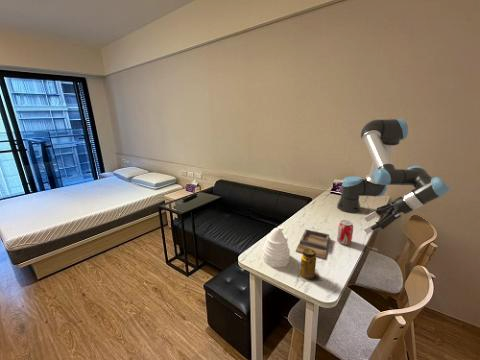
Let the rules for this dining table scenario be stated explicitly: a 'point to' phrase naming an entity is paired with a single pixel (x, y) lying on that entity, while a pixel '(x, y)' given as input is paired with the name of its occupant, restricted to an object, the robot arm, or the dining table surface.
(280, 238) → the honey pot
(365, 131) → the robot arm
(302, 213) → the dining table surface
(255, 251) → the dining table surface
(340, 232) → the soda can
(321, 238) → the board
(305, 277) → the condiment
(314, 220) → the dining table surface
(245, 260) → the dining table surface
